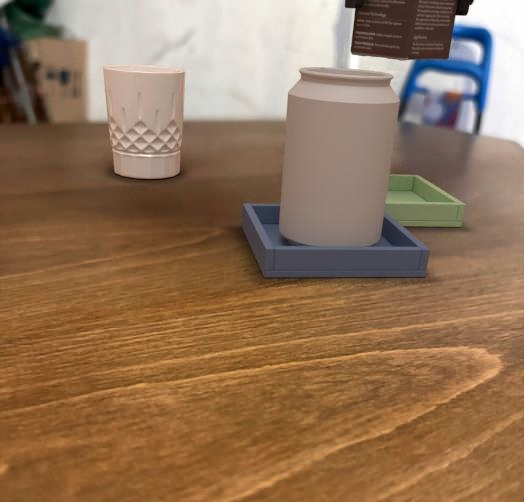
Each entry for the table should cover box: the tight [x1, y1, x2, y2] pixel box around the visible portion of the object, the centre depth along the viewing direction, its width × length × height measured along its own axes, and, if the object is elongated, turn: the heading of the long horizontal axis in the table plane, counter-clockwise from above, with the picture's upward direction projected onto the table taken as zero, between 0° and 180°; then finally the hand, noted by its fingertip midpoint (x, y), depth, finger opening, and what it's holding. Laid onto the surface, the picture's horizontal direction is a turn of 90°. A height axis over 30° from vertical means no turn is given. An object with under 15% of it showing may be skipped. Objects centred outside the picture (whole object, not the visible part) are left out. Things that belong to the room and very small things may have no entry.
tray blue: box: [241, 202, 431, 279], centre depth 49 cm, size 11×11×2 cm
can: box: [279, 66, 401, 247], centre depth 47 cm, size 8×8×12 cm
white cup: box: [102, 64, 186, 180], centre depth 67 cm, size 8×8×10 cm
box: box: [350, 0, 458, 62], centre depth 54 cm, size 6×6×7 cm
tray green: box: [384, 173, 466, 228], centre depth 61 cm, size 11×11×2 cm
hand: (405, 10), depth 54 cm, fingers closed on box, 8 cm apart
